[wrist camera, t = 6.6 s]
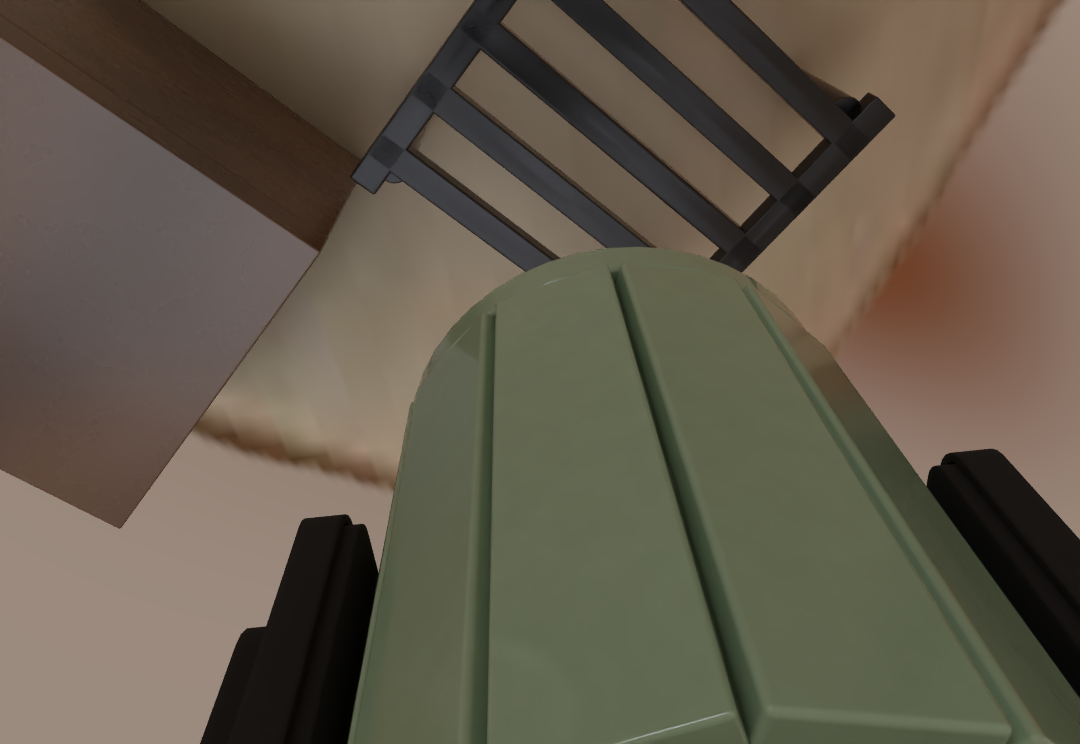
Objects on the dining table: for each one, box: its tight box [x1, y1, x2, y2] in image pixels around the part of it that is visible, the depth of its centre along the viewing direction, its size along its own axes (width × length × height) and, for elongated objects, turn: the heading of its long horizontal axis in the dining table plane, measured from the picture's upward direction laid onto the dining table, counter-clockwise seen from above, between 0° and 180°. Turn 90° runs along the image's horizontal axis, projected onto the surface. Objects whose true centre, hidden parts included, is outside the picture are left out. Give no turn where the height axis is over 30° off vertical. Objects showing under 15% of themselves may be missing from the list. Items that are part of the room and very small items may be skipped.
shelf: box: [0, 0, 360, 528], centre depth 31 cm, size 12×14×10 cm
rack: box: [350, 0, 895, 273], centre depth 31 cm, size 13×13×7 cm
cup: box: [347, 247, 1080, 744], centre depth 10 cm, size 7×7×8 cm
